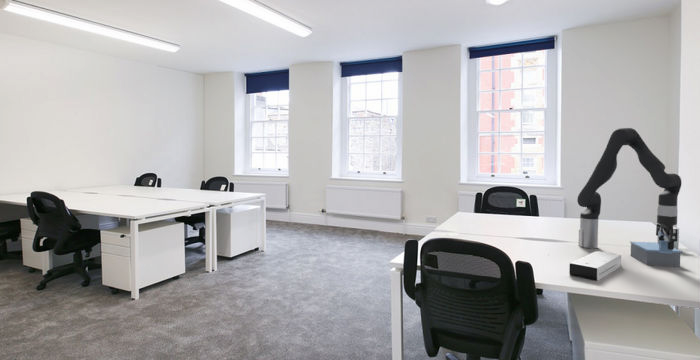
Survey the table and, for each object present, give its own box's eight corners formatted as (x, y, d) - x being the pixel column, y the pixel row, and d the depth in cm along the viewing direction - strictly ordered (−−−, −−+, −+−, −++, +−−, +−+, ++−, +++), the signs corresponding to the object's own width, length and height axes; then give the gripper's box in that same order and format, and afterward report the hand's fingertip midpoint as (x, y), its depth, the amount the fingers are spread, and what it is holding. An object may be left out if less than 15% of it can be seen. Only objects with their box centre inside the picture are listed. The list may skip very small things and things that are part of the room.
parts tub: (646, 264, 192) (647, 251, 191) (630, 255, 209) (631, 243, 209) (679, 266, 188) (680, 252, 188) (660, 257, 206) (661, 244, 205)
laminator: (596, 282, 168) (597, 268, 168) (566, 275, 178) (566, 262, 177) (620, 267, 190) (621, 254, 190) (593, 262, 200) (593, 250, 199)
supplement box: (678, 250, 219) (679, 228, 218) (663, 250, 221) (664, 228, 220) (670, 247, 226) (671, 226, 225) (656, 247, 228) (657, 226, 227)
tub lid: (649, 254, 189) (649, 240, 188) (630, 244, 209) (630, 232, 209) (684, 256, 185) (685, 242, 185) (661, 246, 205) (662, 233, 205)
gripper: (650, 212, 195) (649, 243, 196) (665, 216, 181) (664, 250, 182) (668, 212, 193) (667, 244, 194) (684, 217, 179) (683, 251, 180)
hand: (665, 247), depth 188 cm, fingers open, 8 cm apart
